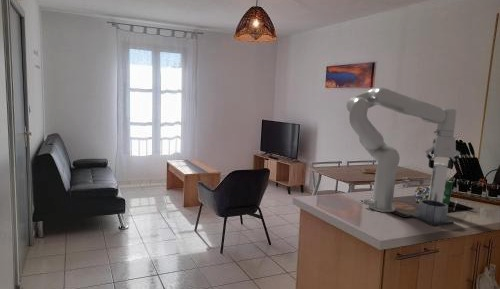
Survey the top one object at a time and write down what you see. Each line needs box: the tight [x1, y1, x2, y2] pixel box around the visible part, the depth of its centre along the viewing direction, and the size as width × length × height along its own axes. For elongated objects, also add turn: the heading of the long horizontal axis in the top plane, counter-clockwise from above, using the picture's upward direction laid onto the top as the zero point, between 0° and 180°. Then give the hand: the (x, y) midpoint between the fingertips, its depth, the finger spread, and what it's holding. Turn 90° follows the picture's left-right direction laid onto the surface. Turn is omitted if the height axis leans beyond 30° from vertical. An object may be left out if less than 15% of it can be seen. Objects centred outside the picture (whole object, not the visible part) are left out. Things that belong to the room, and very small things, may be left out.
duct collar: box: [409, 199, 455, 227], centre depth 168 cm, size 13×13×8 cm
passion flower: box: [413, 185, 430, 203], centre depth 196 cm, size 11×11×12 cm
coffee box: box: [443, 180, 454, 206], centre depth 198 cm, size 8×3×13 cm, turn 58°
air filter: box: [428, 162, 449, 203], centre depth 179 cm, size 6×6×25 cm
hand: (440, 168), depth 178 cm, fingers open, 9 cm apart
